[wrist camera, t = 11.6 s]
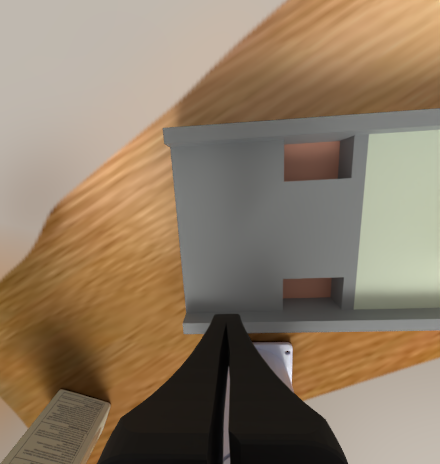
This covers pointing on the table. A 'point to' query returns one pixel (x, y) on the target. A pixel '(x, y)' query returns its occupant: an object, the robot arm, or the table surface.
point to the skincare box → (62, 431)
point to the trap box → (311, 222)
